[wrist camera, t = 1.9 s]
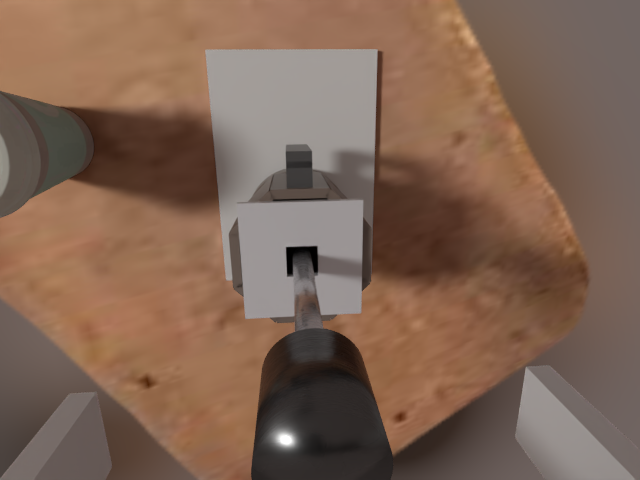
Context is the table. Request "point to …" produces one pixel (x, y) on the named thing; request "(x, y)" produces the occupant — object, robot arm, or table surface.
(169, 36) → the table surface
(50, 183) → the coffee cup
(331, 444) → the plunger
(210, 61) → the mat
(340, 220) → the grey french press
